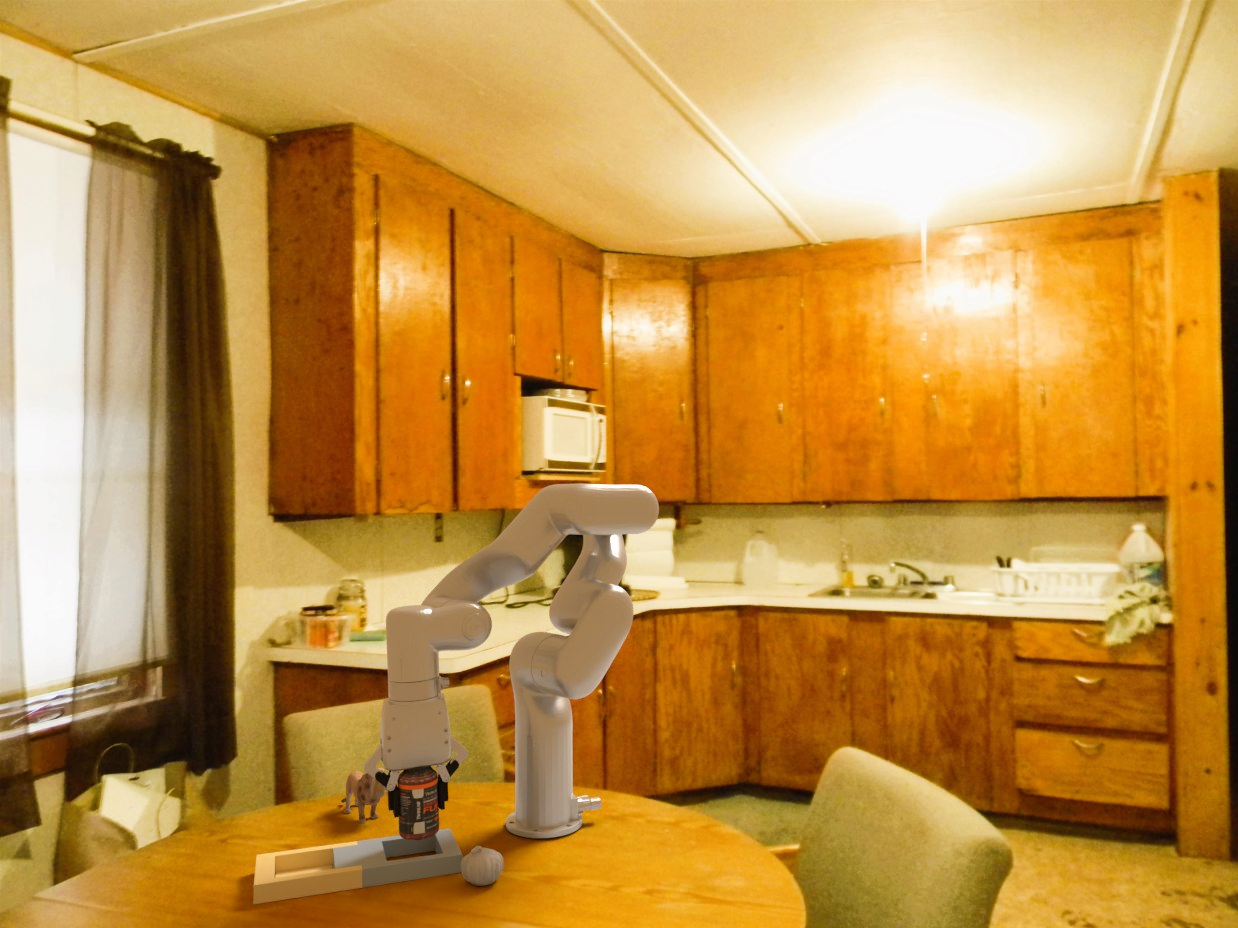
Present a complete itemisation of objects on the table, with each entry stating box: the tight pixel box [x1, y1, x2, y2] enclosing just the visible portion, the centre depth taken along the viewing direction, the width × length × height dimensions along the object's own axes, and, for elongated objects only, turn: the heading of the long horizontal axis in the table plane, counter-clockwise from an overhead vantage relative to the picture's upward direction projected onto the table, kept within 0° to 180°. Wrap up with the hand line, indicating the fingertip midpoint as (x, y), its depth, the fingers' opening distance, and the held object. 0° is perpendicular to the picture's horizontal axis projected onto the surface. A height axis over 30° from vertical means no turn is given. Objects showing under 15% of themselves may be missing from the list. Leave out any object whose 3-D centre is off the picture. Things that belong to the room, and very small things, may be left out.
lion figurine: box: [340, 767, 388, 825], centre depth 151 cm, size 15×5×9 cm, turn 46°
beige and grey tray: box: [252, 828, 464, 905], centre depth 127 cm, size 28×11×2 cm, turn 110°
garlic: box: [460, 845, 504, 887], centre depth 124 cm, size 6×5×5 cm
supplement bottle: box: [396, 766, 440, 840], centre depth 131 cm, size 6×6×11 cm
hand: (418, 809), depth 131 cm, fingers closed on supplement bottle, 6 cm apart
